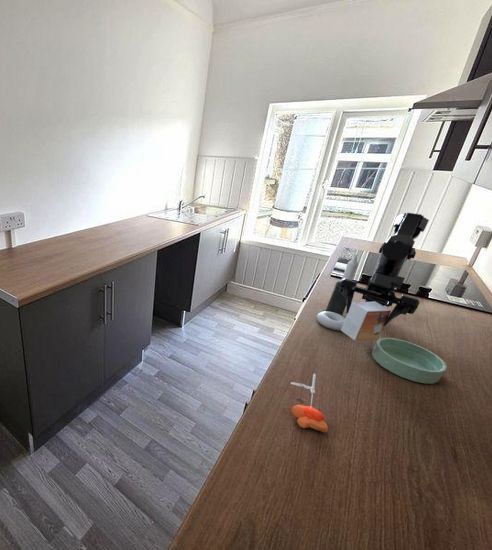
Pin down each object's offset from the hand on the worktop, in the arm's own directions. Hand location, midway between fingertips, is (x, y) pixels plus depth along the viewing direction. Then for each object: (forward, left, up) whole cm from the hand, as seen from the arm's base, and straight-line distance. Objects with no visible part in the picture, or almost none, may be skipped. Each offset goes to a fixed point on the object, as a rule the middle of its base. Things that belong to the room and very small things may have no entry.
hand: (364, 319), depth 88 cm
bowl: (-6, +12, -12) cm, 18 cm away
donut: (-13, -10, -12) cm, 20 cm away
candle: (-21, -12, -12) cm, 27 cm away
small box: (-2, 0, -7) cm, 7 cm away
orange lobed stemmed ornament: (+40, +3, -12) cm, 42 cm away
